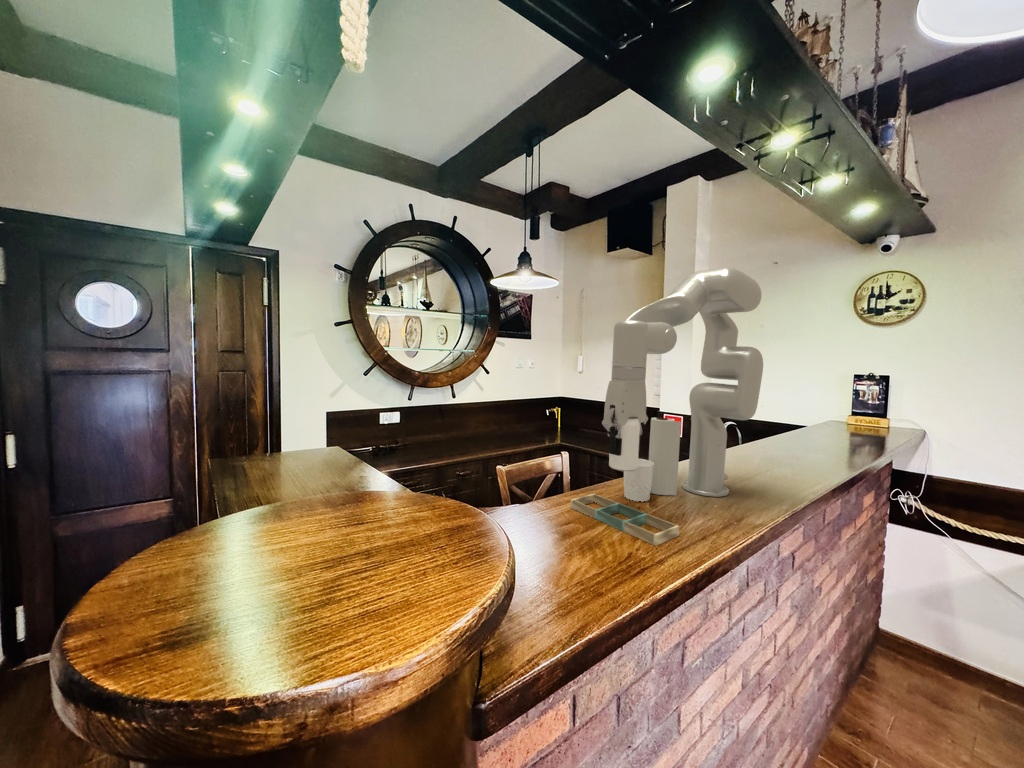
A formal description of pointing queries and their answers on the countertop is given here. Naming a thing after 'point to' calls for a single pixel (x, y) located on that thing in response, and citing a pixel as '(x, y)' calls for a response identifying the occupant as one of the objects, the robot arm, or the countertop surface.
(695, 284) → the robot arm
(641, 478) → the white cup
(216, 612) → the countertop surface
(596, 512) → the slot rack
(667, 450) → the paper towel roll
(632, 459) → the can
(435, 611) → the countertop surface
